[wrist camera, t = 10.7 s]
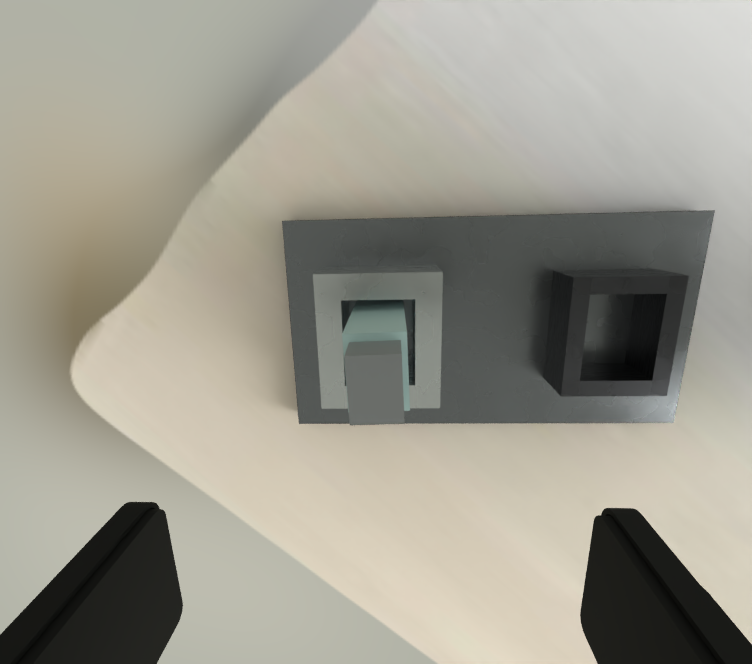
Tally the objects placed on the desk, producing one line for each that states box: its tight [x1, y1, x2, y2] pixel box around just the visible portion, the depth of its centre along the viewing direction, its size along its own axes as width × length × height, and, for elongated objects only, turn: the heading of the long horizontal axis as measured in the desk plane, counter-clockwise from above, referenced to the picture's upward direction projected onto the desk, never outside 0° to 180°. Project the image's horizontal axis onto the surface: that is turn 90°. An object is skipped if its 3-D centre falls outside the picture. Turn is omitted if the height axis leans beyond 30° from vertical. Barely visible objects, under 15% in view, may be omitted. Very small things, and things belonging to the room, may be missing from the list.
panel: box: [282, 210, 715, 424], centre depth 26 cm, size 26×14×5 cm, turn 91°
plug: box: [342, 300, 410, 425], centre depth 22 cm, size 3×4×10 cm
